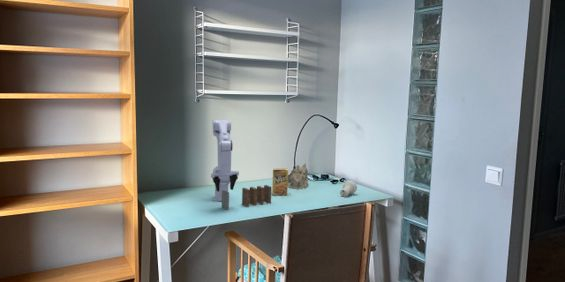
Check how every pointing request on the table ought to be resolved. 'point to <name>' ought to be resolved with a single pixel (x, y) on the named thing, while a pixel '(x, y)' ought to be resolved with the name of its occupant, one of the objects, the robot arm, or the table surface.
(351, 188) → the pale grey rounded lump
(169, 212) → the table surface
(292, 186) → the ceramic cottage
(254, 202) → the domino
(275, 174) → the candy box
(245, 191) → the domino
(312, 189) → the table surface
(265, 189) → the domino
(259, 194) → the domino
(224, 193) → the domino
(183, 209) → the table surface
